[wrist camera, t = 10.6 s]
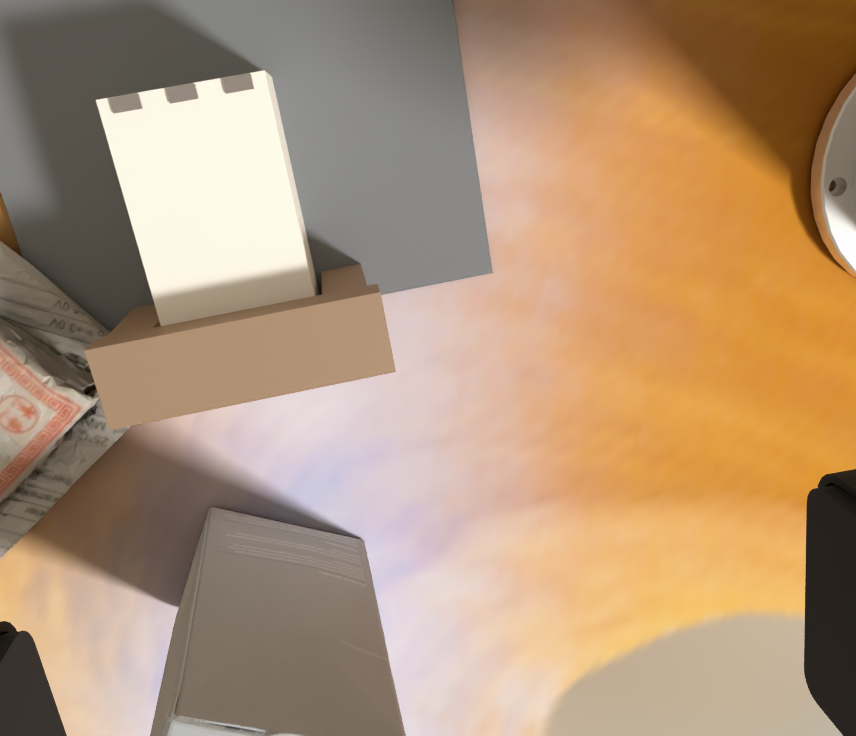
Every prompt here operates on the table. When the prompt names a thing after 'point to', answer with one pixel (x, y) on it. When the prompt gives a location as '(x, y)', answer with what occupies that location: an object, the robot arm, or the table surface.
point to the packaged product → (43, 396)
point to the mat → (301, 118)
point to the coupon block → (223, 262)
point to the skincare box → (277, 637)
